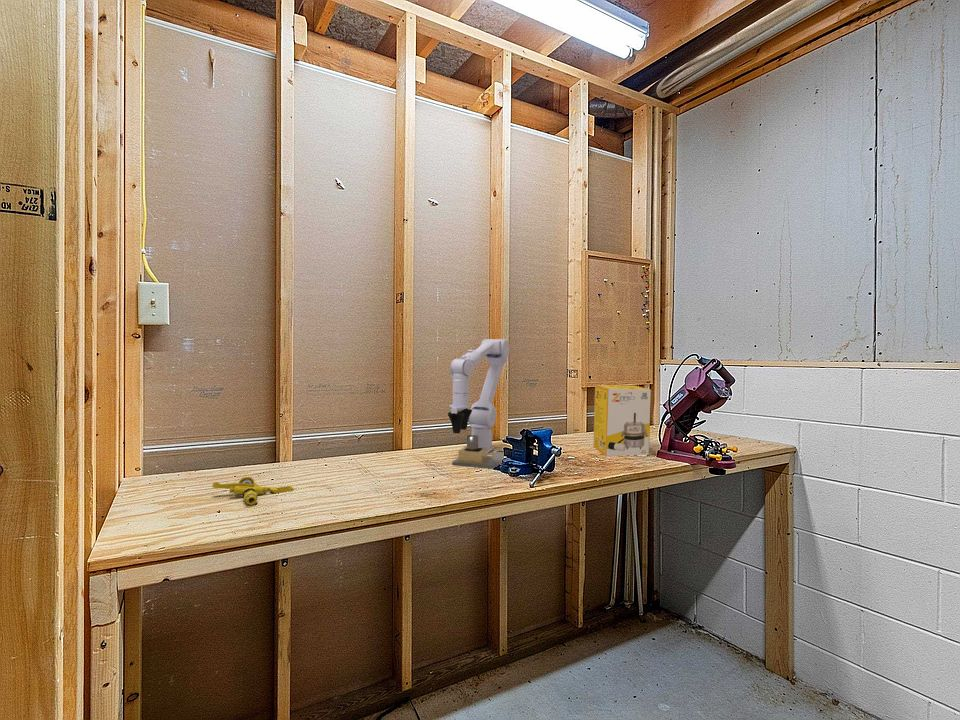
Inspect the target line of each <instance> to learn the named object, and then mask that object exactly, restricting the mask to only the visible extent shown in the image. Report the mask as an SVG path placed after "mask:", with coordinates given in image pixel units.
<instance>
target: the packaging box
mask: <svg viewBox="0 0 960 720" xmlns="http://www.w3.org/2000/svg"><path fill="white" fill-rule="evenodd" d="M651 400H652V389H650V388H647V387H641V386H638V385H629V384H628V385H624V384H623V385H622V384H621V385H619V384H618V385H616V384H610V385H609V384H595V385H594V413H593V415H594V417H593V420H594V421H593V448H595V449H596V450H597V451H599V452H600V453H602V455H604V456H605V455H606V456H605V457H621V456H620V455H649V456H650V435H651V433H650V432H651V408H652V407H651V405H652V404H651V402H652V401H651ZM617 455H619V456H617Z"/></svg>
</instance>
